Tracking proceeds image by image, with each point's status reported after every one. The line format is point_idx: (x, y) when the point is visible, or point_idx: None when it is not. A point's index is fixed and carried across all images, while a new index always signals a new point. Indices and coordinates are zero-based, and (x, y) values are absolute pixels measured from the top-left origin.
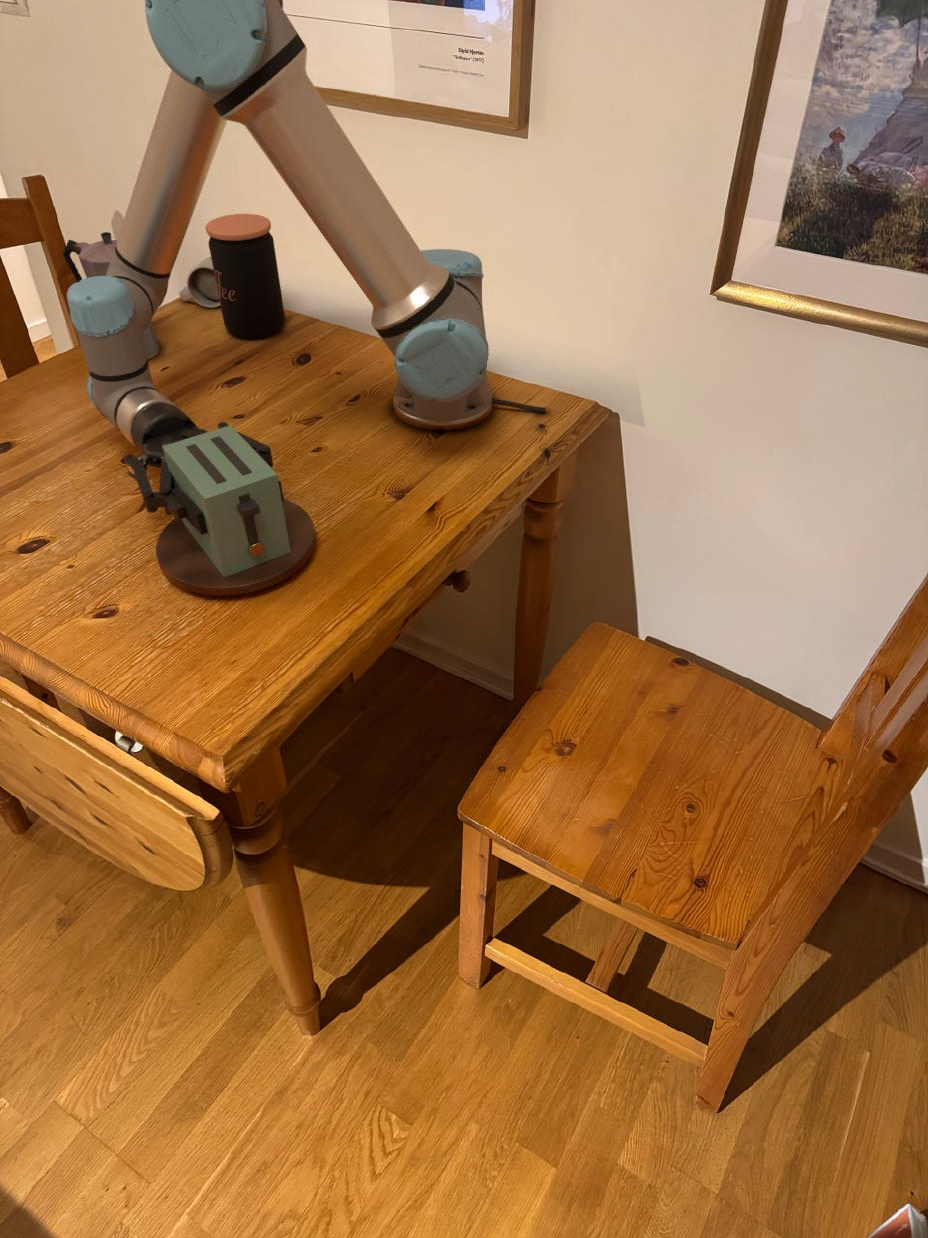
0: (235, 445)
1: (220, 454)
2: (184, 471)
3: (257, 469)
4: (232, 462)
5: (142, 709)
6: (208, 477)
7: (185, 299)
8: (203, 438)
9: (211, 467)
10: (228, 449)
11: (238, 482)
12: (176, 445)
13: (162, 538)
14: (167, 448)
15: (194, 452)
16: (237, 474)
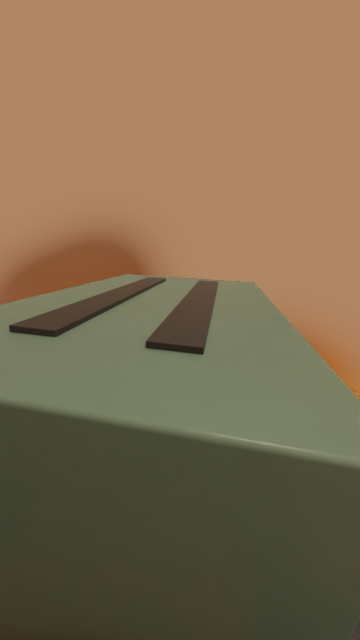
0: (65, 300)
1: (136, 301)
2: (271, 305)
3: (134, 279)
4: (149, 285)
5: (352, 389)
6: (222, 289)
7: None
8: (54, 358)
9: (199, 290)
10: (103, 295)
11: (185, 279)
12: (253, 400)
13: None
14: (344, 410)
15: (196, 319)
16: (170, 282)
